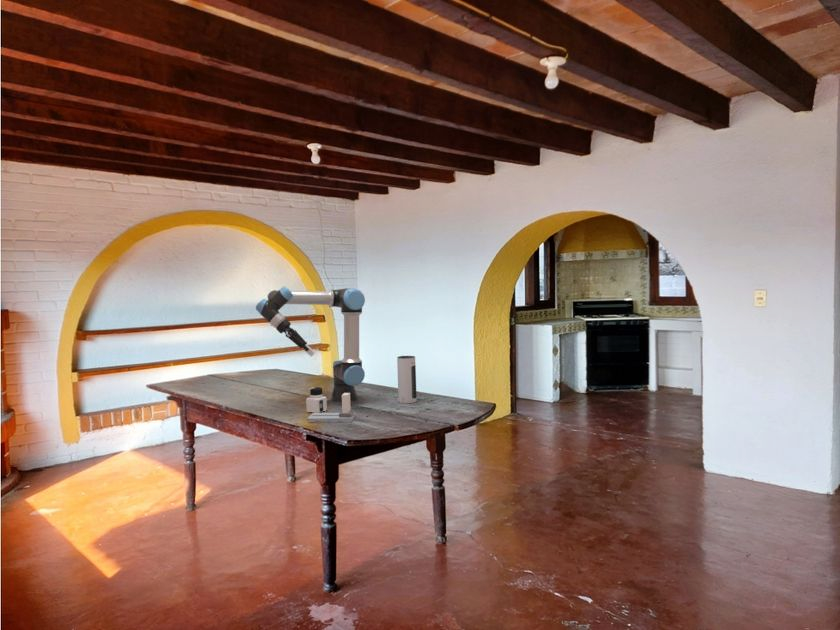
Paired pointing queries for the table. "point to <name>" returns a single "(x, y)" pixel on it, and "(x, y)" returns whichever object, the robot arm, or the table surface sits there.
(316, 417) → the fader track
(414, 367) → the speaker
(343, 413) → the fader
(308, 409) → the container
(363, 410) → the table surface
